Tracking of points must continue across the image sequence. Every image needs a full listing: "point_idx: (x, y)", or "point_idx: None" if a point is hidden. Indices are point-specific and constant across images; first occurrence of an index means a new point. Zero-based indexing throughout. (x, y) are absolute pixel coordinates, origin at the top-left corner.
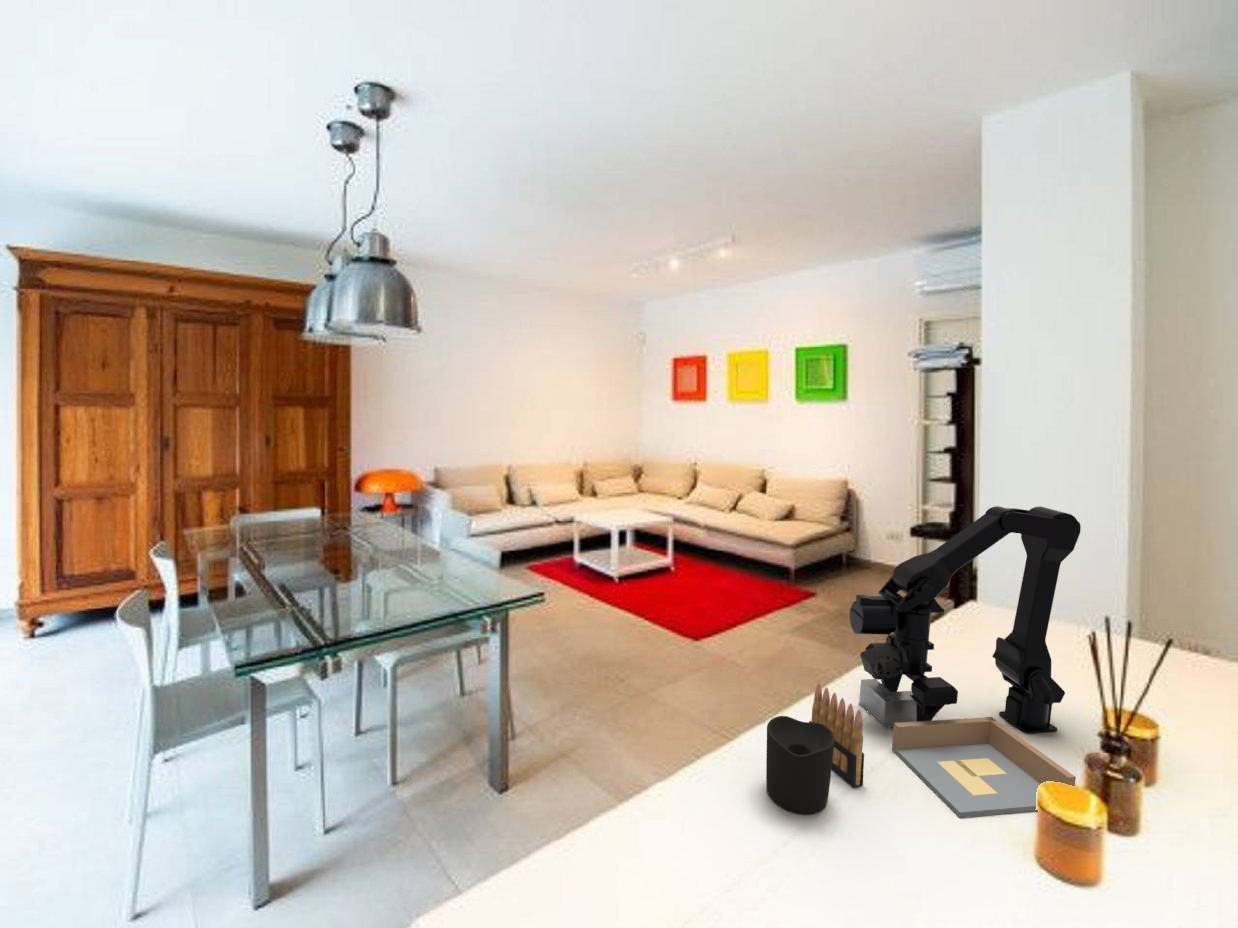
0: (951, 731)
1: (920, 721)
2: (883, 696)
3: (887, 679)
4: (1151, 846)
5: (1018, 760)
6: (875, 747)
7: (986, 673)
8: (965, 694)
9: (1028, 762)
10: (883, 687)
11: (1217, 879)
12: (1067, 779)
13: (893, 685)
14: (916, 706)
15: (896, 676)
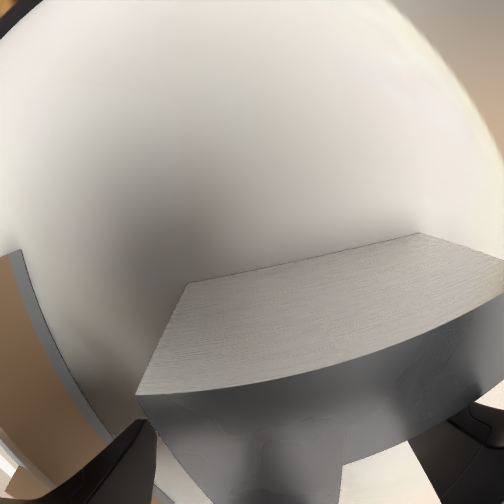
0: None
1: (3, 430)
2: (247, 414)
3: (463, 450)
4: (14, 471)
5: None
6: (24, 182)
7: (427, 498)
8: (386, 497)
9: None
10: (417, 425)
11: (5, 471)
12: (6, 489)
13: (429, 450)
14: (85, 500)
15: (450, 488)
